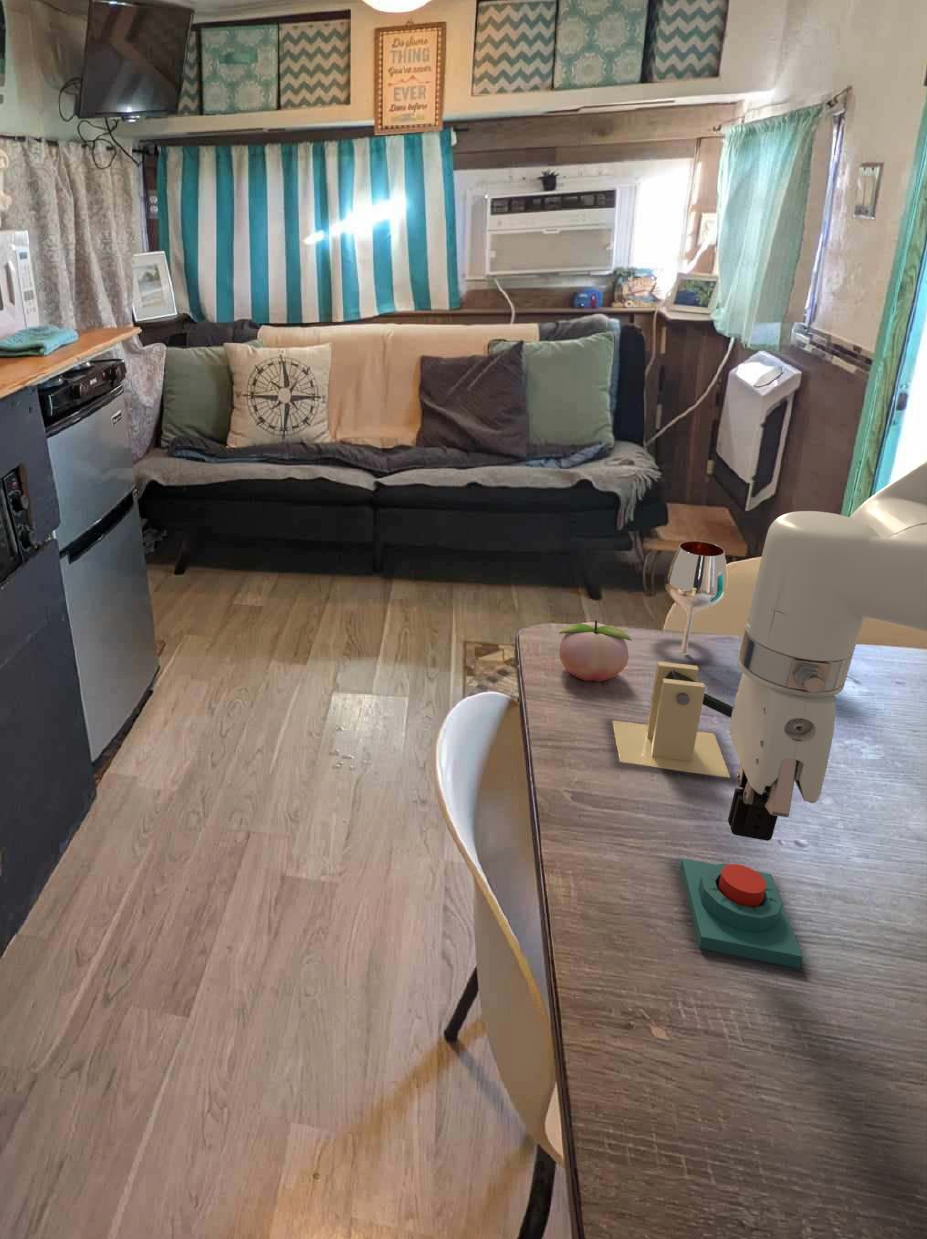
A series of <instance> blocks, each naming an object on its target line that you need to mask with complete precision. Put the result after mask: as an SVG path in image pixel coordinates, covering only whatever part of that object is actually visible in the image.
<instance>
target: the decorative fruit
mask: <svg viewBox="0 0 927 1239" xmlns="http://www.w3.org/2000/svg"><path fill="white" fill-rule="evenodd" d="M558 634H559V635H560V634H561V635H562V637H561V640H560V644H559V659H560V663H561V664H562V666H563V667H564V668H565V670H566V671H567V672H568V673H570V674H571V675H573V676H574V677H576V678H578V679H579V680H581V681H585V682H591V681H594V682H598V683H599V682H604V681H607V680H609V679H612V678H614V677H615V676H617V675H619V674H620V673H621V672H623V670H624V669H625V668H626V667H627V665H628V663H629V656H630V655H629V648H628V645H627V642H626V640H627V641H629V642H632V638H631V637H630V635H629V634H627V633H626V632H625V631H624V630H622V629H620V628H618V627H616V626H613V625H606V624H603V623H600V622H598V620H596V619H595V620H594V622H581V623H573V624H569V625H568V626H566V627H564V628H563V629H562V630H560V631H559V633H558Z"/></svg>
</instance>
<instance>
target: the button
mask: <svg viewBox="0 0 927 1239" xmlns="http://www.w3.org/2000/svg"><path fill="white" fill-rule="evenodd" d="M757 872H758V871H756V870H755V869H753V868H751V867H749V866H747V865H743V864H737V863H730V865H727V866H725V867H724V868H723V869H722V873H721V877H720V882H719V889H720V891H721V893H722V894H723V895H724V896H725V897H726V898H727V899H729V900H730V901H732V902H734V903H736V904H738V905H741V906H747V907H757V906H759V905H760V904H761V903H762V902H763V898H764V894H765V890H766V882H765V880H764V879H763V877H762V876H761V875H760V874H759V873H757Z"/></svg>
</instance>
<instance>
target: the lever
mask: <svg viewBox="0 0 927 1239" xmlns="http://www.w3.org/2000/svg"><path fill="white" fill-rule="evenodd" d="M665 679H672V680H681V681H690V682H694V680H692V679H690V678H688V677H686V676H684V675H682V674H680V673H677V672H675V671H673V670H671V672H670V673H669V674H668V676H667V677H666V678H665ZM661 686H662V683H661ZM702 706H705V707H708V708H710V709H712V710H714V711H716V712H718V713H720V714H722V715H723V716H726V717H728V718H730V719H731V716H732V711H733V706H732V705H730V704H728V703H726V702H724V701H722V700H719V699H717V698H715V697H714V696H711V695H709V694H707V693H704V698H703V704H702Z"/></svg>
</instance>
